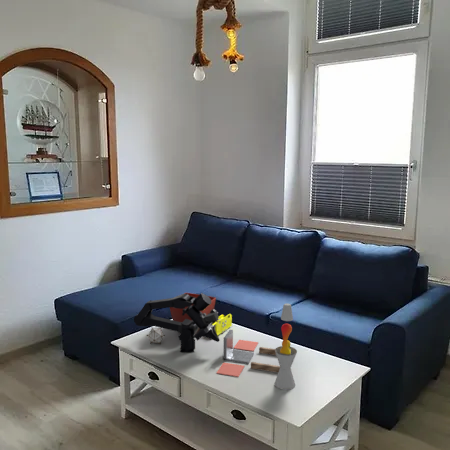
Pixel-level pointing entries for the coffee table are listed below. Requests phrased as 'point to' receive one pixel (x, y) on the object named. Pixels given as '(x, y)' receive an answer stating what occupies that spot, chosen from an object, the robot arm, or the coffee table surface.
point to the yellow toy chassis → (223, 323)
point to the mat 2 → (246, 345)
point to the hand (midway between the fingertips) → (218, 341)
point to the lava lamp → (285, 353)
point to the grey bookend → (234, 351)
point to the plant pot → (177, 313)
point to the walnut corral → (265, 366)
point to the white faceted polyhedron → (155, 335)
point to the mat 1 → (230, 369)
